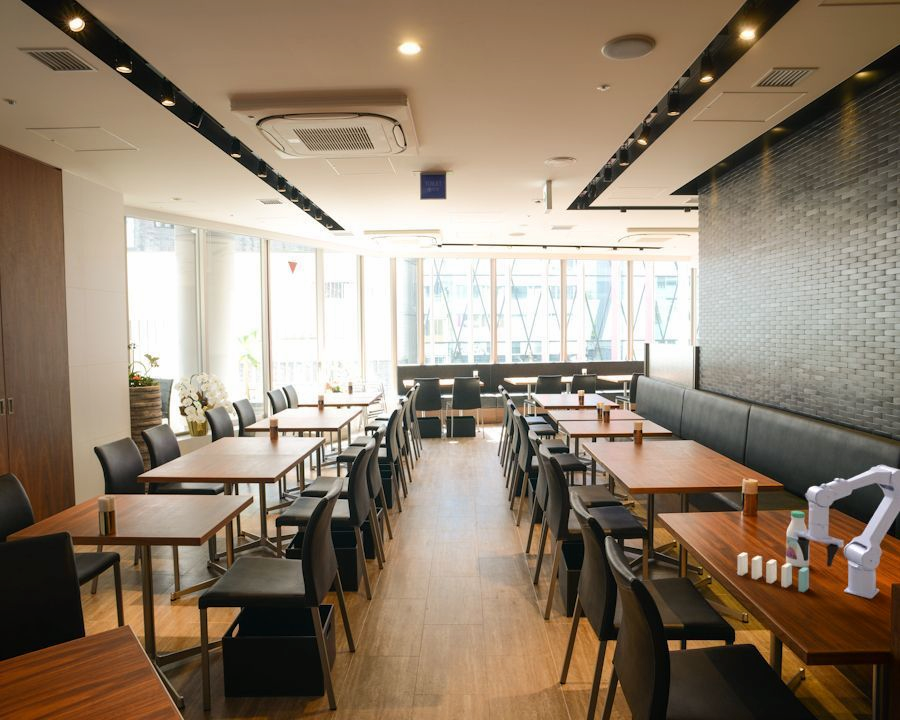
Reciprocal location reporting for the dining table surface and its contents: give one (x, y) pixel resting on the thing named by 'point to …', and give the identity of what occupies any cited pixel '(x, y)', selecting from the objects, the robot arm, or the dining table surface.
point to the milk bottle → (795, 540)
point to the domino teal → (803, 579)
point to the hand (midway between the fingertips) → (817, 562)
